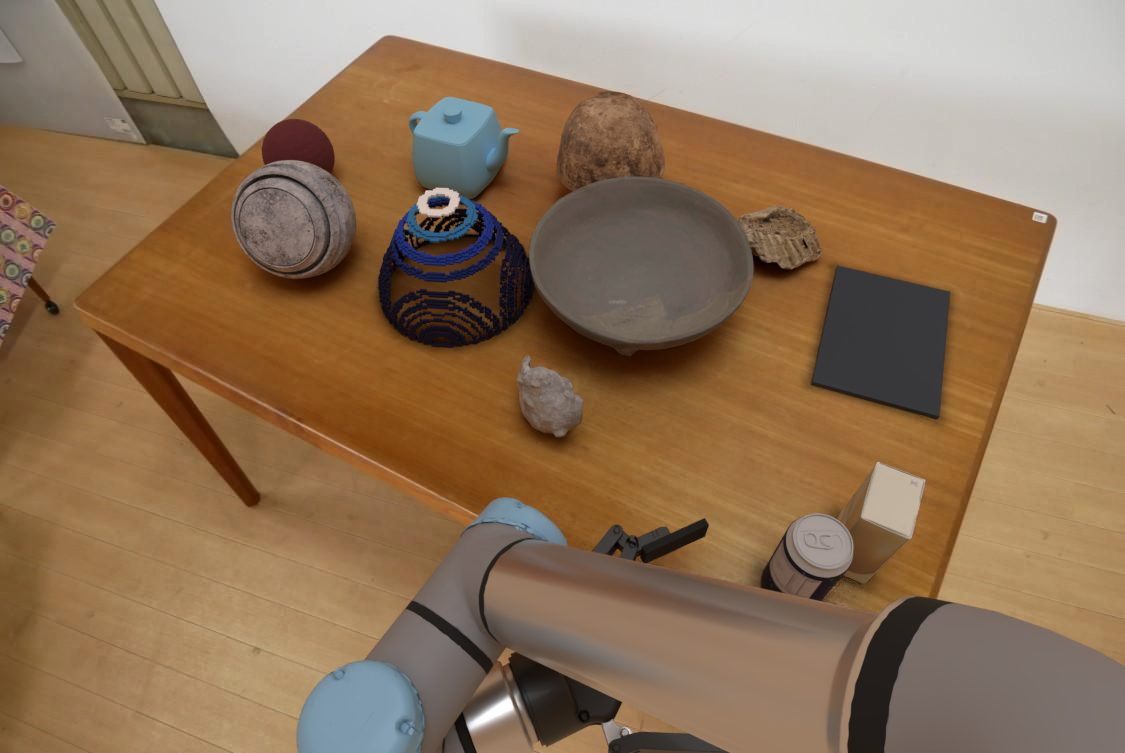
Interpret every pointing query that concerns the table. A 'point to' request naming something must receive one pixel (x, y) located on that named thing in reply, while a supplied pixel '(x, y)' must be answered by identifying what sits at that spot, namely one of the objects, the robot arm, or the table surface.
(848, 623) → the robot arm
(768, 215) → the seashell
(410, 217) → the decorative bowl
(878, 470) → the cosmetic box
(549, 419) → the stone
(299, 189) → the decorative orb
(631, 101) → the brown rounded lump
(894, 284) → the slate mat
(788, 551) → the beverage can
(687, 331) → the bowl
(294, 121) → the decorative ball
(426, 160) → the teapot
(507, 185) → the table surface
